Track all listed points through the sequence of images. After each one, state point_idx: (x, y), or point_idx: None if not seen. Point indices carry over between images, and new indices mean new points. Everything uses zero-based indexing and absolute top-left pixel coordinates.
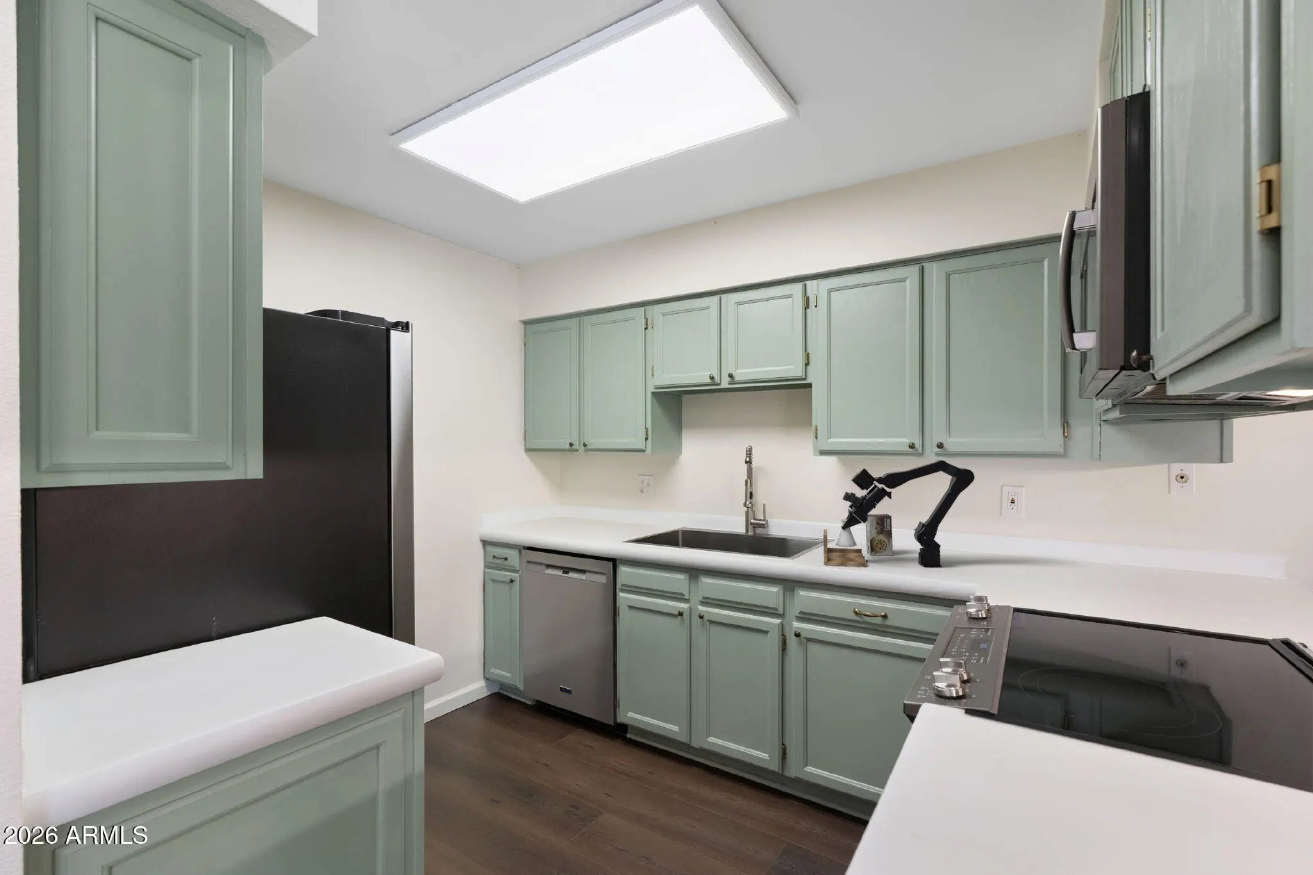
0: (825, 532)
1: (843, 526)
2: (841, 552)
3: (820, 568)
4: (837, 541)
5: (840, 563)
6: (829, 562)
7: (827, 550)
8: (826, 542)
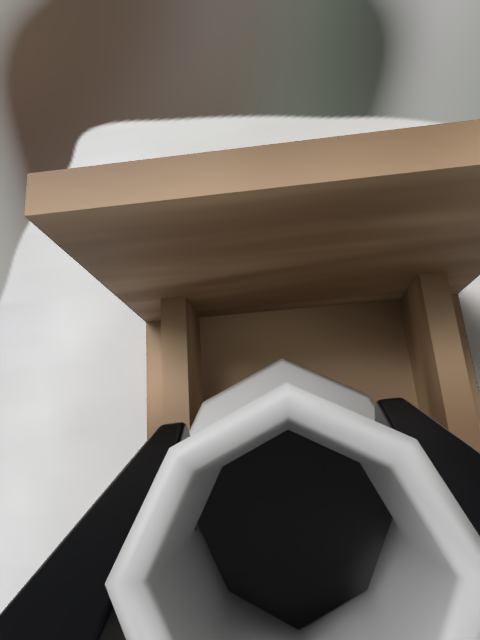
0: (266, 170)
1: (133, 476)
2: (432, 418)
3: (56, 295)
4: (270, 372)
5: (150, 427)
6: (147, 340)
7: (413, 283)
8: (76, 257)
